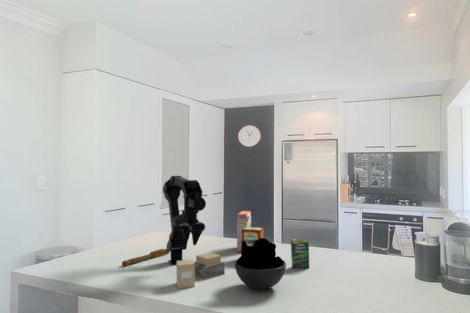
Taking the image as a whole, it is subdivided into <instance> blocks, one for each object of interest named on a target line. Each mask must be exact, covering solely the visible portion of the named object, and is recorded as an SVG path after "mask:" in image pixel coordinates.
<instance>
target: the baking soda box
mask: <svg viewBox="0 0 470 313" xmlns="http://www.w3.org/2000/svg"><path fill="white" fill-rule="evenodd" d="M264 232H265V229H264V227H257V226H256V227H252V226H251V227H245V228H243V229H242V241H243V240H244V241H245V242H246V245H248V246H253V244H254V241H257V240H258V239H260V238H265V233H264Z"/></svg>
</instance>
